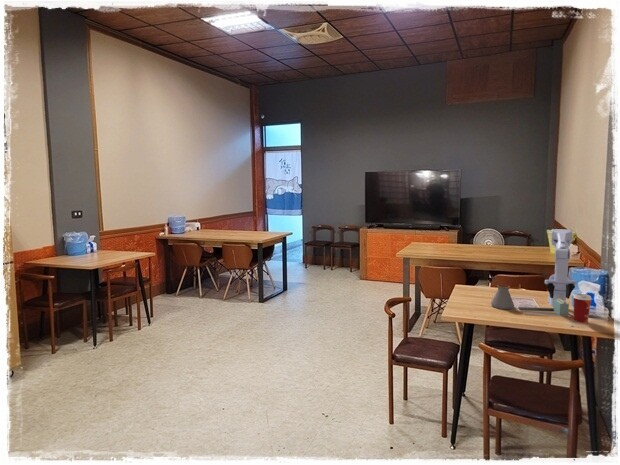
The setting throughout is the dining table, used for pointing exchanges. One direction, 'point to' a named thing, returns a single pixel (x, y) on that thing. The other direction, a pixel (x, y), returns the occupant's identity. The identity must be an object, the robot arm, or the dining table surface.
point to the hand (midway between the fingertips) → (559, 297)
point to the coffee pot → (502, 297)
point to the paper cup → (581, 307)
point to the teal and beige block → (561, 307)
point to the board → (541, 312)
